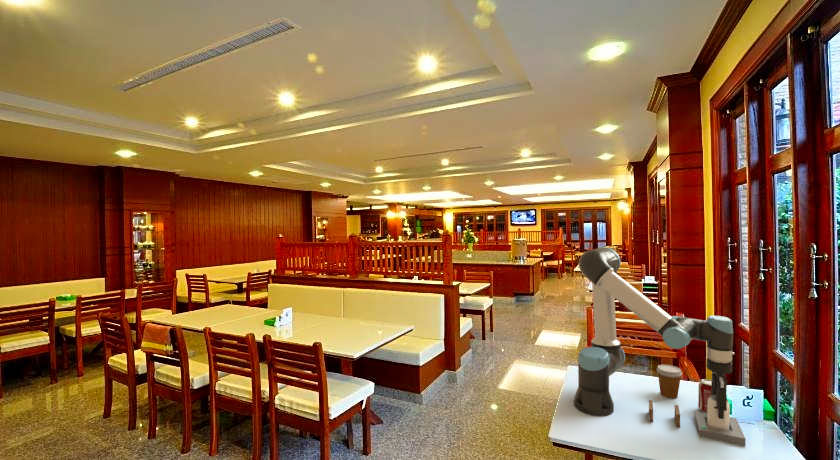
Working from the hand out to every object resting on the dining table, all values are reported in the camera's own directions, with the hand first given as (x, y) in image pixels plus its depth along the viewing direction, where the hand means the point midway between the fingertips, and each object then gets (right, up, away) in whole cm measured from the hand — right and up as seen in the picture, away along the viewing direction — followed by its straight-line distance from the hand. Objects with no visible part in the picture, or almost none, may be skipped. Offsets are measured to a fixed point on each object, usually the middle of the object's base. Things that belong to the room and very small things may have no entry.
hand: (718, 420), depth 147 cm
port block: (0, -4, 0) cm, 4 cm away
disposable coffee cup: (-1, -2, +28) cm, 28 cm away
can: (0, -4, 0) cm, 4 cm away
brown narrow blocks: (-15, -3, +8) cm, 17 cm away
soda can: (+6, -3, +14) cm, 15 cm away
